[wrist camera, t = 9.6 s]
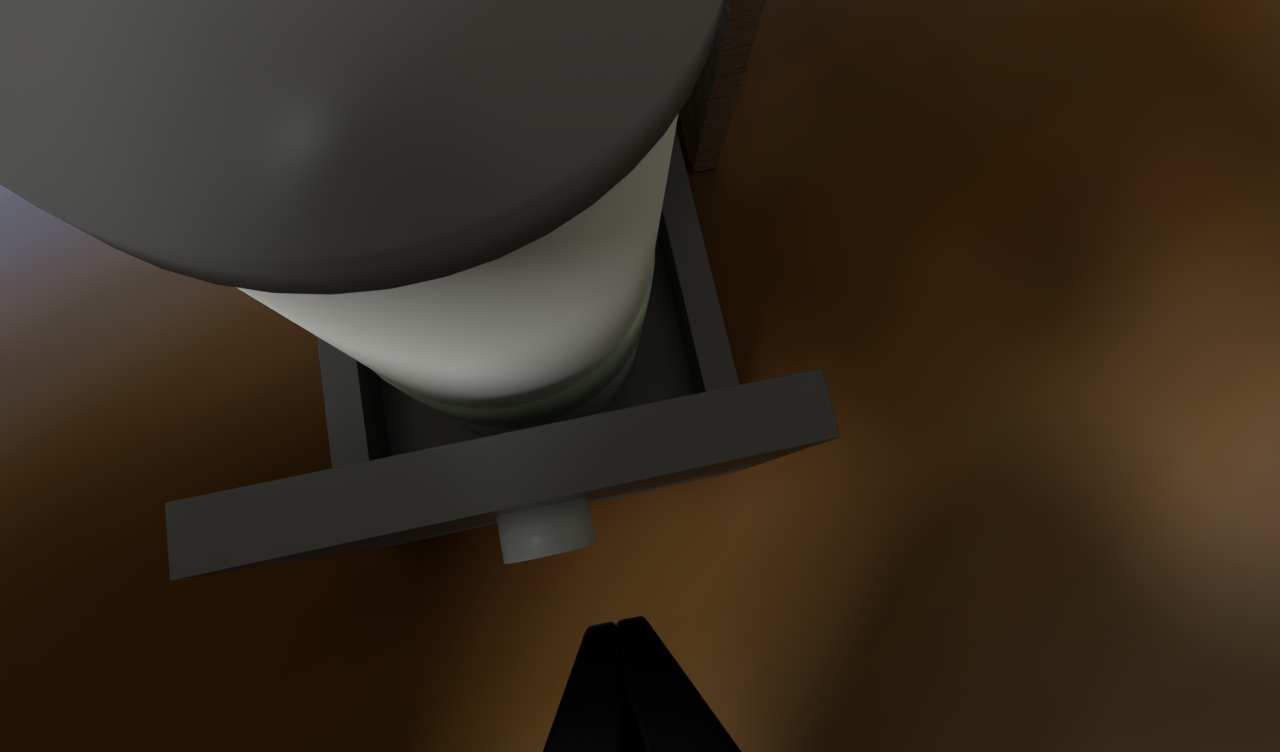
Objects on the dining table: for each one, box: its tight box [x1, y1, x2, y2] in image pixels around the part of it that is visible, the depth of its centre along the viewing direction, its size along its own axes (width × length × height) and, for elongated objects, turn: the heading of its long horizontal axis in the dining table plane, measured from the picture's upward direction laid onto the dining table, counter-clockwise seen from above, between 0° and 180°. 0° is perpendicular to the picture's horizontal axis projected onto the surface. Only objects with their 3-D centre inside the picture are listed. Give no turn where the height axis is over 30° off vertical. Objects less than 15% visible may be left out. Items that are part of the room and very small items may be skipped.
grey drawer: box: [165, 130, 841, 581], centre depth 13 cm, size 10×10×8 cm
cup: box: [0, 0, 725, 437], centre depth 10 cm, size 6×6×12 cm
